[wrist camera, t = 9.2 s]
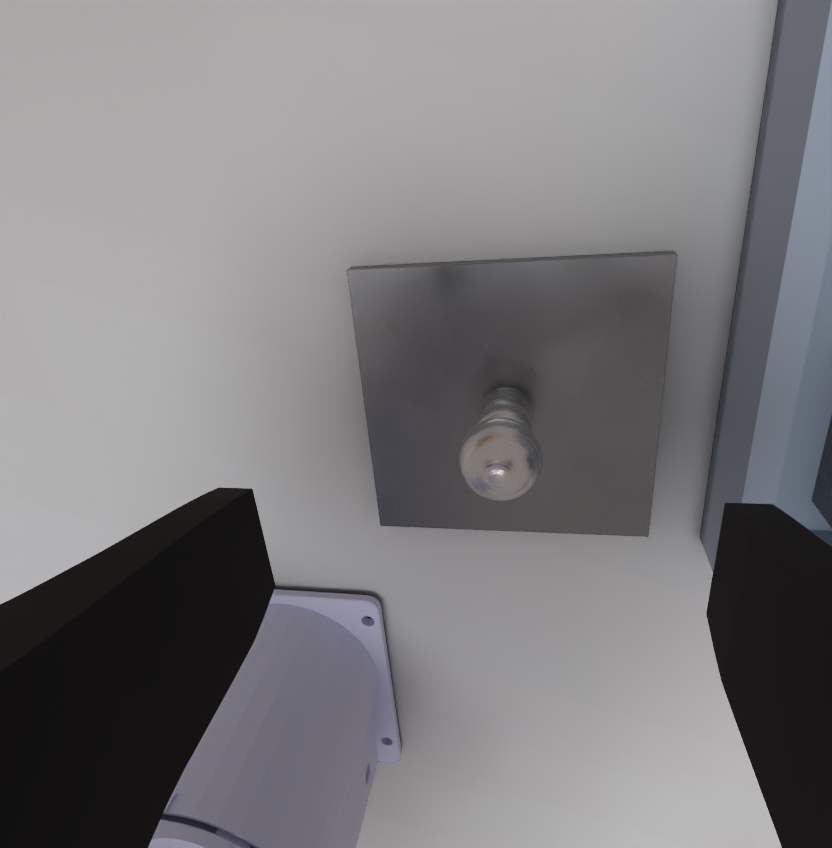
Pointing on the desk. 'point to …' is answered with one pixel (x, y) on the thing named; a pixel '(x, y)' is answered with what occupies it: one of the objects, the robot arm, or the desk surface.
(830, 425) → the strut
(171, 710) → the robot arm
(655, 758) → the desk surface
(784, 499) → the tray
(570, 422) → the stud plate
